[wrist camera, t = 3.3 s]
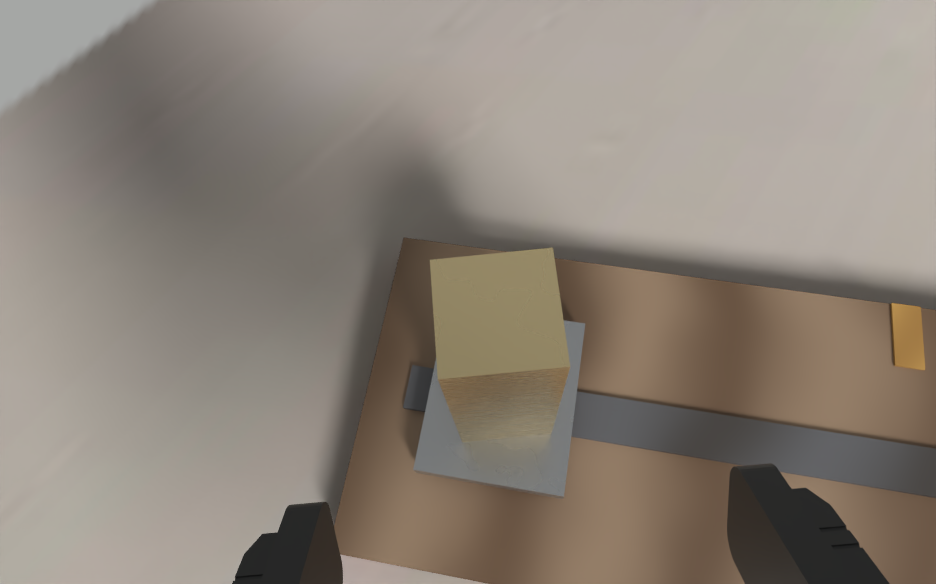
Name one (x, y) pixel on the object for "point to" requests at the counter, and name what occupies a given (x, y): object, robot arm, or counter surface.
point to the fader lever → (501, 374)
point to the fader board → (661, 432)
